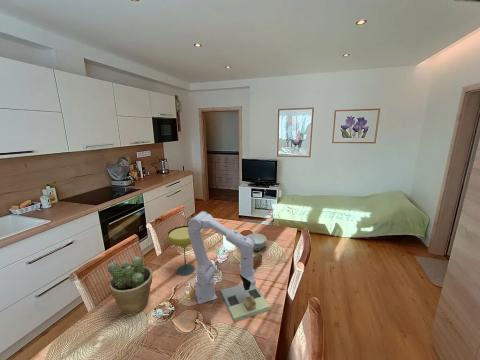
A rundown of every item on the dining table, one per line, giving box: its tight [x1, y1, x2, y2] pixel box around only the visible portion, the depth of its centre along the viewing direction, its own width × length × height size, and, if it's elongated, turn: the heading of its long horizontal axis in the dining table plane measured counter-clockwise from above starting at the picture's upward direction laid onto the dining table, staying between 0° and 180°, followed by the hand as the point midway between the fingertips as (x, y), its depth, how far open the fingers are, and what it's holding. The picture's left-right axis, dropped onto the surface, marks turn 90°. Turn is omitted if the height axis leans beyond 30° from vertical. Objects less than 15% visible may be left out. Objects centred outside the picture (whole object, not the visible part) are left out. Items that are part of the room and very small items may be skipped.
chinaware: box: [245, 233, 268, 251], centre depth 157 cm, size 15×15×8 cm
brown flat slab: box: [253, 252, 263, 271], centre depth 134 cm, size 15×3×8 cm, turn 141°
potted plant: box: [106, 256, 153, 315], centre depth 103 cm, size 18×19×25 cm
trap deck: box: [220, 283, 271, 323], centre depth 108 cm, size 18×19×2 cm
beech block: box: [244, 296, 256, 311], centre depth 102 cm, size 4×4×4 cm
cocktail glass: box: [166, 225, 196, 277], centre depth 130 cm, size 18×18×25 cm
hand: (246, 289), depth 104 cm, fingers closed
